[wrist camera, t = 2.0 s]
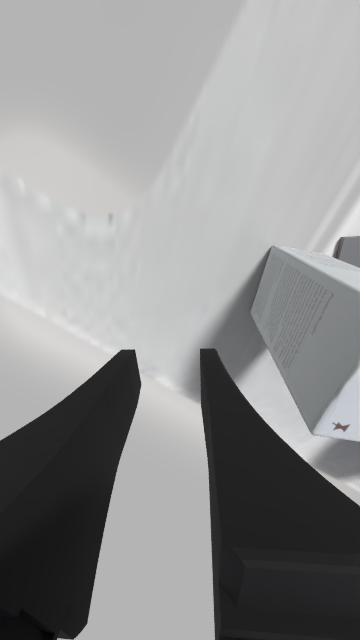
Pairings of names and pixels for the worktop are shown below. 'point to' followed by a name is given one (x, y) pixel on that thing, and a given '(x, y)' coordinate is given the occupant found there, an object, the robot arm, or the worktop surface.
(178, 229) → the worktop surface
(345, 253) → the mat
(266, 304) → the skincare box
